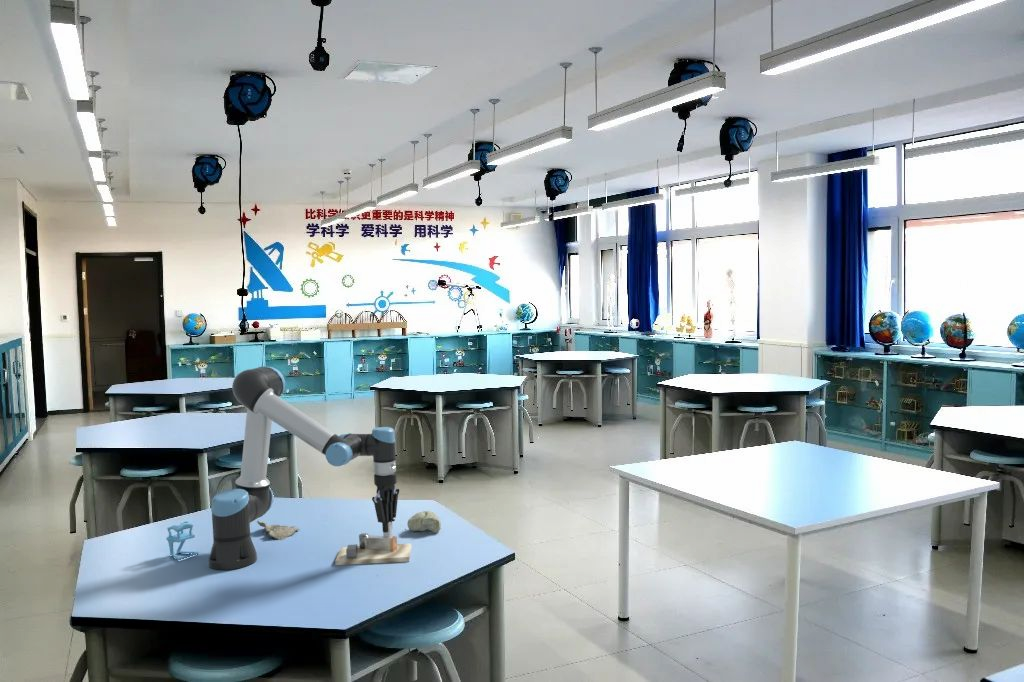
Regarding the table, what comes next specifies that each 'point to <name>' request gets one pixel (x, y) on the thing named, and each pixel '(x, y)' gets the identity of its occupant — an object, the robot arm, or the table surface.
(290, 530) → the dried leaf
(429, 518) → the seashell
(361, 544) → the bar
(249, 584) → the table surface
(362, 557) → the plate
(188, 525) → the chair
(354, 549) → the block
